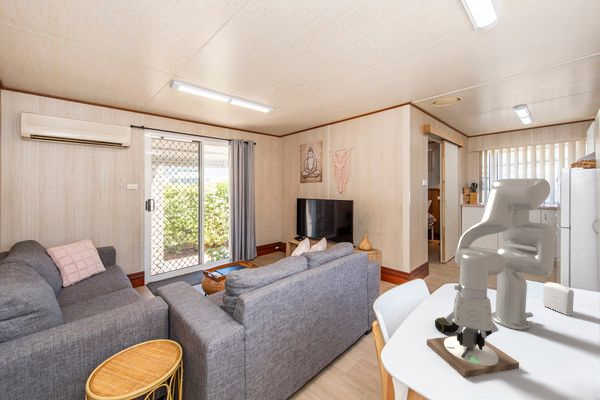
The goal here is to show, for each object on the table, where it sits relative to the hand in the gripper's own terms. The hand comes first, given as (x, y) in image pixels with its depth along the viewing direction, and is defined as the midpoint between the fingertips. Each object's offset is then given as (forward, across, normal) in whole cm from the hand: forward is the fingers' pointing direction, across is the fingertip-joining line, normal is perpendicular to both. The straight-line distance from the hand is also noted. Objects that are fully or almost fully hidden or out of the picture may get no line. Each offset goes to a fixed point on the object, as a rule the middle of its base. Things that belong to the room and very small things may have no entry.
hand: (470, 344), depth 85 cm
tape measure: (+4, -6, +15) cm, 17 cm away
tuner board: (+4, 0, 0) cm, 4 cm away
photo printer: (+4, +44, +55) cm, 70 cm away
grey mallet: (+1, -1, -2) cm, 3 cm away
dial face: (+2, 0, 0) cm, 2 cm away
